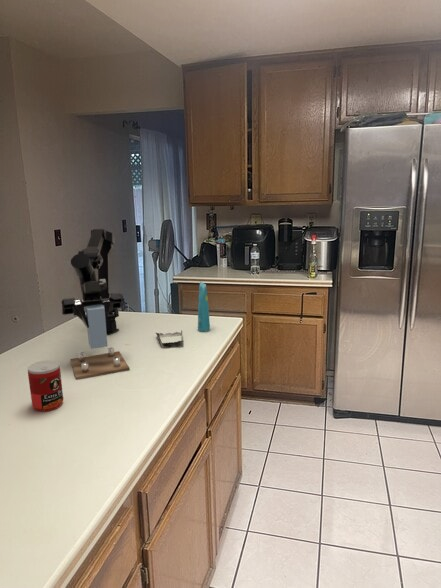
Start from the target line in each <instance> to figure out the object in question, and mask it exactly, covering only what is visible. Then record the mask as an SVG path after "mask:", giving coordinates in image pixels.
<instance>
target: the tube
mask: <svg viewBox="0 0 441 588" xmlns="http://www.w3.org/2000/svg"><path fill="white" fill-rule="evenodd" d="M207 289H208V288H207V284H205V283H204V282H202V281H201V280H200V281H199V288H198V303H197V304H198V306H197V331H198V332H201V333H202V332H209V331H210V330H211V327H210V325H211V324H210V307H209V297H208V292H207V291H208V290H207Z"/></svg>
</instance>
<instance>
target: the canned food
mask: <svg viewBox="0 0 441 588" xmlns="http://www.w3.org/2000/svg"><path fill="white" fill-rule="evenodd" d="M61 373H62V372H61V366H60V362H58V361H57V360H52V359H51V360H50V359H47V360H46V359H44V360H39V361H36V362H34V363H31V364H30V365H28V366H27V378H28V383H29V390H30V399H31V406H32V408H33V410H35V411H37V412H49V411H50V412H51V411H53V410H56V409H59V408H60V407H61V406H62V405H63V403H64V395H63V394H64V393H63V384H62V374H61Z"/></svg>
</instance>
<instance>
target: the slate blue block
mask: <svg viewBox="0 0 441 588" xmlns="http://www.w3.org/2000/svg"><path fill="white" fill-rule="evenodd" d="M85 314H86V317H87V320H88V324H89V328H87V327H86V328H87V336H88V337H87V339H88V344H89V345H88V346H89V348H90V349H91V350H94V349H99V348H105V347H108V336H107V333H106V320H105V308H104V307H103V305H102V304H101V305H92V306H86V307H85Z"/></svg>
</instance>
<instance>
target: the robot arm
mask: <svg viewBox="0 0 441 588" xmlns="http://www.w3.org/2000/svg"><path fill="white" fill-rule="evenodd" d="M115 244H116V236H115V235H114V232H111V231H108V230H106V229H104V228H93V229H91V230H90V237H89V240H88V243H87V246H86V247H85V248H83V249H81V250H78V252H77V253H76V254H75V255H74V256H72V258H71V259H70V265H71V267H72V269H73V271H74V273H75V275H76V277H78V282H79V288H80V292H81V298H82V299H78V300H77V299H75V297H68V298H62V299H61V301H60V302H61V313H62V315H63V316H64V315H65V316H66V315H73V316H76V317H78V318H79V319H80V320H81V322H82V323H83V324H84V326H85V327H86V328H89V324H88V320H87V317H86V309H85V308H86V306H92V305H101V304H102V305H103V307H104V308H105V320H106V333H107V335H111V334H113V333H115V332H117V331H119V328H118V327H117V320H116V319H117V318H118V317H120V314H119V309H120V308H122V307H123V303H124V296H123V293H121V292H114V293H111V274H110V273H111V270H110V269H111V266H110V265H111V264H110V261H111V260H110V259H111V258H110V257H111V254H112V252H113V251H114V249H115V248H114V246H115ZM96 270H97V273H96Z"/></svg>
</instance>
